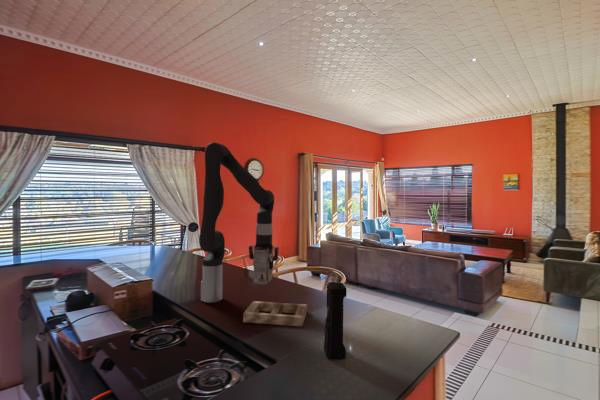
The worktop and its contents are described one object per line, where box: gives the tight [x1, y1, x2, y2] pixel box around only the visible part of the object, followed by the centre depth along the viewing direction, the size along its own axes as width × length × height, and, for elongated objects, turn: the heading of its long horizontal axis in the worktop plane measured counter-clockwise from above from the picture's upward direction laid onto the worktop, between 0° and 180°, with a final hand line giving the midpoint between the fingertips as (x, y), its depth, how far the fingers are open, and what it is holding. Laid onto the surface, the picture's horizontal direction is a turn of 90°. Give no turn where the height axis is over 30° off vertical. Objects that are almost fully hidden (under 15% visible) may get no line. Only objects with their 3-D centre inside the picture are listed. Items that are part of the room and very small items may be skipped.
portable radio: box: [323, 279, 347, 360], centre depth 99 cm, size 8×6×25 cm
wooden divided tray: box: [242, 300, 308, 327], centre depth 128 cm, size 24×14×4 cm, turn 82°
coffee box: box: [253, 247, 274, 285], centre depth 141 cm, size 9×6×16 cm
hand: (263, 268), depth 142 cm, fingers closed on coffee box, 6 cm apart
